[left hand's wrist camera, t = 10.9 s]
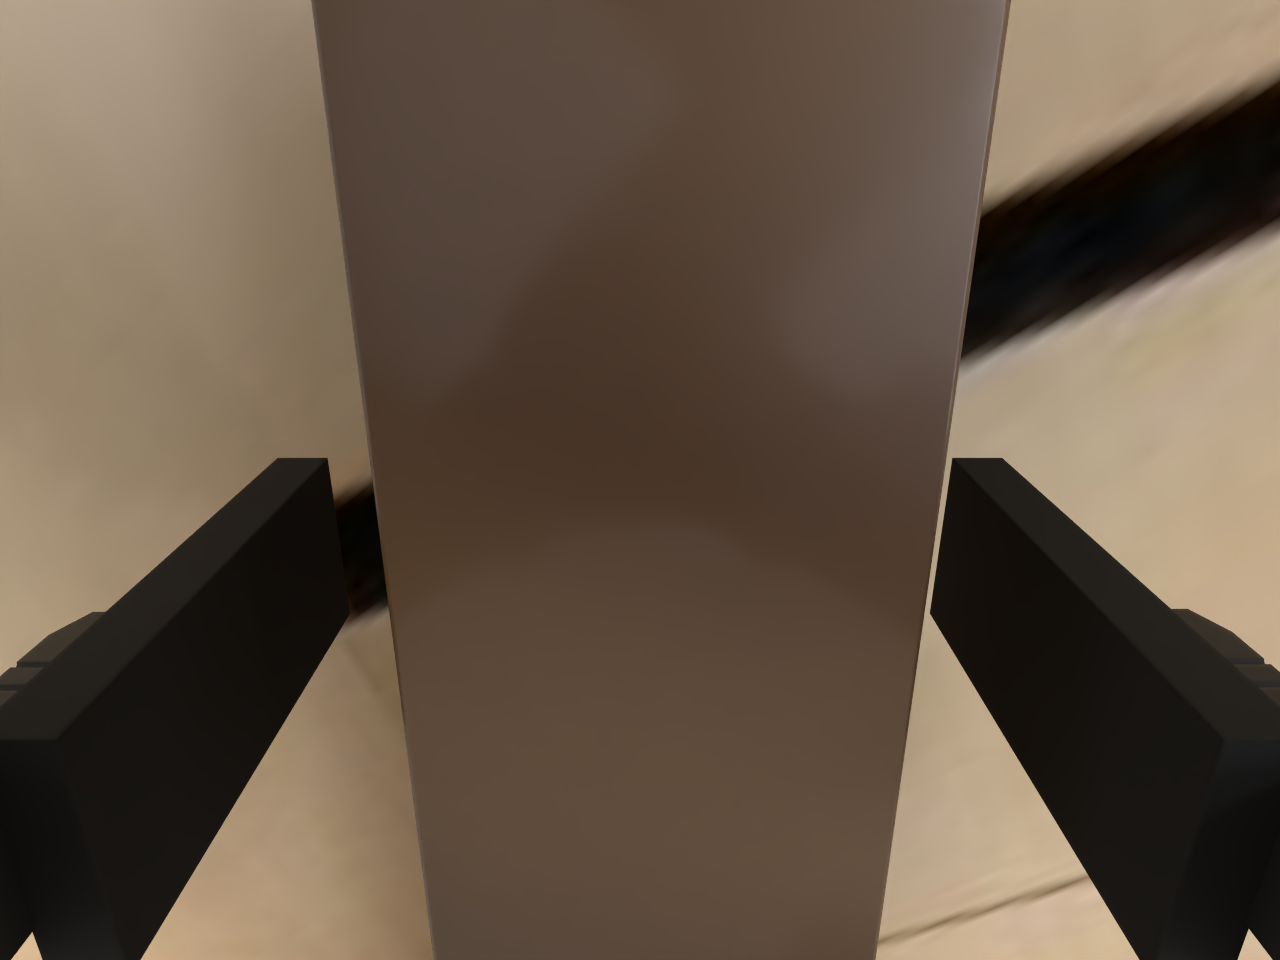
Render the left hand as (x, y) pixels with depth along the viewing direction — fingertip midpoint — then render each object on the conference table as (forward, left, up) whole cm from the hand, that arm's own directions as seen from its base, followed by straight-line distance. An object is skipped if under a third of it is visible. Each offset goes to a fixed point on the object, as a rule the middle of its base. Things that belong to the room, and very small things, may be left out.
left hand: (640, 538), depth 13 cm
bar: (+29, +6, -3) cm, 30 cm away
